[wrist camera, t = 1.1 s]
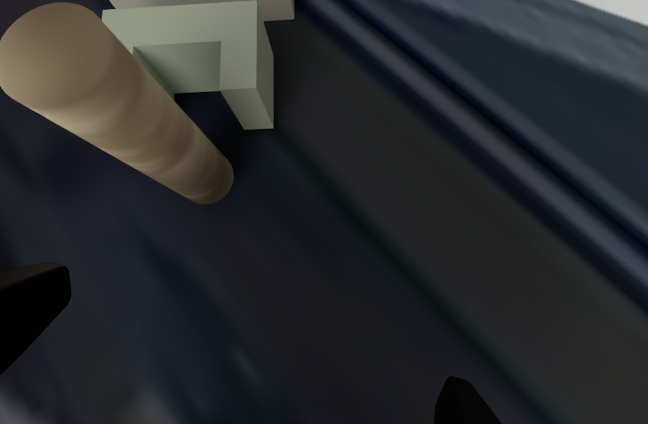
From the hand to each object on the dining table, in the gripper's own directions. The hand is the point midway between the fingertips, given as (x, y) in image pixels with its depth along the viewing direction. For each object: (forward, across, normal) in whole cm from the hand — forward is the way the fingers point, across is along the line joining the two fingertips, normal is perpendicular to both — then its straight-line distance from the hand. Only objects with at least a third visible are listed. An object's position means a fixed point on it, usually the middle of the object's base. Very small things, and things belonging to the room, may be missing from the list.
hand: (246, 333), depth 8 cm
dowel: (+15, +8, +2) cm, 18 cm away
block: (+18, +10, -2) cm, 21 cm away
